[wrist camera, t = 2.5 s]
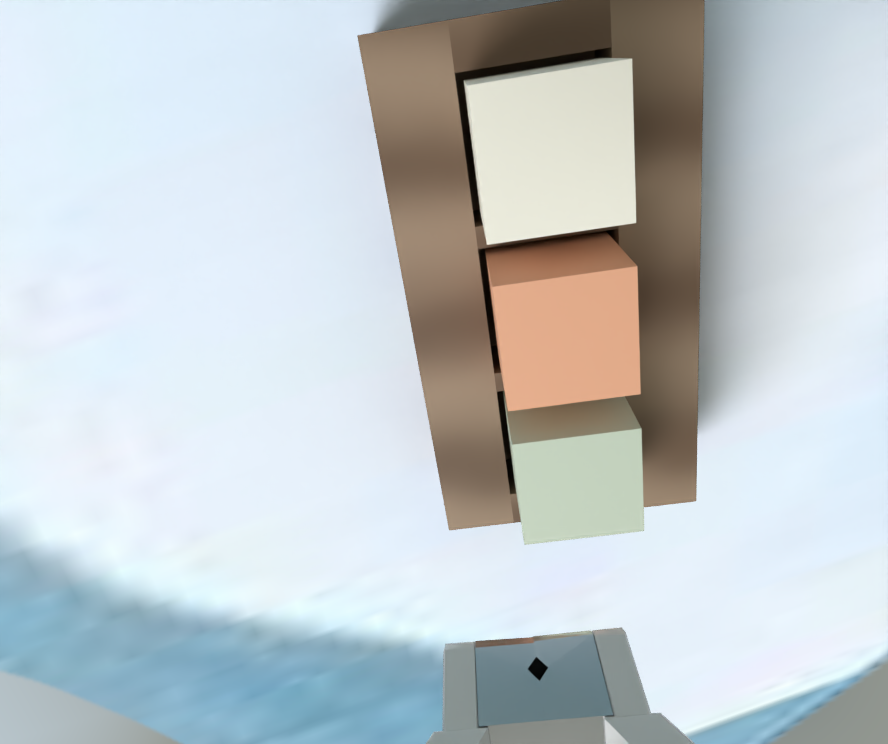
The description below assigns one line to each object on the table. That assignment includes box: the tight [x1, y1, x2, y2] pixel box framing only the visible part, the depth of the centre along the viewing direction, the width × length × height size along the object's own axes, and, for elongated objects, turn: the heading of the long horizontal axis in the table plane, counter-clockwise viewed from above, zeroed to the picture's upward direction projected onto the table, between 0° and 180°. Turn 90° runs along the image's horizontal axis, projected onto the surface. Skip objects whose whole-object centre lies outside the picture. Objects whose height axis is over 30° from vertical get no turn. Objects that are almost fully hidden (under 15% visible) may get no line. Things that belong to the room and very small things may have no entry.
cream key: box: [464, 58, 636, 245], centre depth 23 cm, size 5×5×5 cm
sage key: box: [503, 391, 644, 545], centre depth 29 cm, size 5×5×5 cm
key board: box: [358, 0, 704, 530], centre depth 30 cm, size 22×12×4 cm, turn 9°
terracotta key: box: [485, 231, 641, 411], centre depth 26 cm, size 5×5×5 cm
